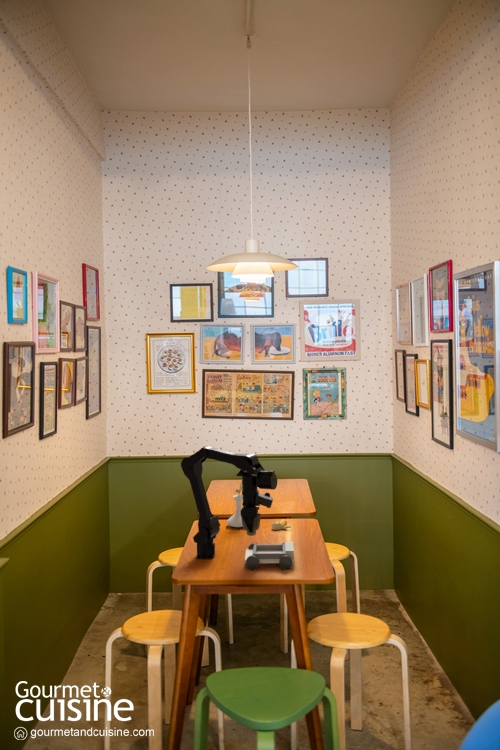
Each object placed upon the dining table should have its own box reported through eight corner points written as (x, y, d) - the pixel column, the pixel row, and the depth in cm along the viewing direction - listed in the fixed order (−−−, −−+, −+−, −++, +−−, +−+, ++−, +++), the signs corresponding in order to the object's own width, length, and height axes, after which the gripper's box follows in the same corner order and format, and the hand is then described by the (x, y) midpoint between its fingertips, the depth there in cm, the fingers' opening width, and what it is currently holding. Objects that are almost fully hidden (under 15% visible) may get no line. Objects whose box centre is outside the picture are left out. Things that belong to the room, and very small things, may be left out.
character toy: (292, 522, 293) (275, 524, 291) (292, 530, 293) (275, 531, 291) (286, 518, 301) (269, 520, 298) (286, 525, 301) (269, 527, 299)
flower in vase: (241, 530, 294) (240, 474, 293) (221, 527, 301) (220, 472, 300) (258, 524, 304) (257, 470, 304) (239, 521, 311) (238, 468, 310)
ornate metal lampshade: (261, 532, 251) (260, 511, 251) (261, 537, 244) (261, 515, 244) (241, 532, 251) (240, 511, 251) (241, 538, 244) (240, 516, 244)
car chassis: (244, 570, 239) (244, 553, 239) (246, 555, 257) (246, 539, 257) (294, 569, 239) (294, 553, 238) (293, 554, 257) (292, 539, 256)
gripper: (270, 492, 238) (272, 535, 238) (272, 482, 256) (273, 523, 256) (239, 493, 238) (241, 536, 239) (243, 483, 257) (244, 523, 257)
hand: (251, 529), depth 248 cm, fingers closed on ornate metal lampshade, 6 cm apart
